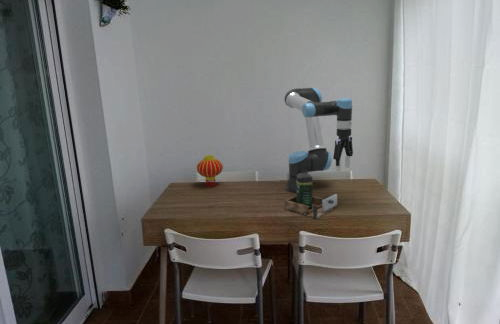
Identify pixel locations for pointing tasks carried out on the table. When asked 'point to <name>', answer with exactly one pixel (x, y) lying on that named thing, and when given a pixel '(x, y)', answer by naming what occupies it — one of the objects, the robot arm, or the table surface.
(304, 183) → the coffee jar
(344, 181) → the table surface
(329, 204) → the grey flat panel
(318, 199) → the open wooden box
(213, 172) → the lantern
